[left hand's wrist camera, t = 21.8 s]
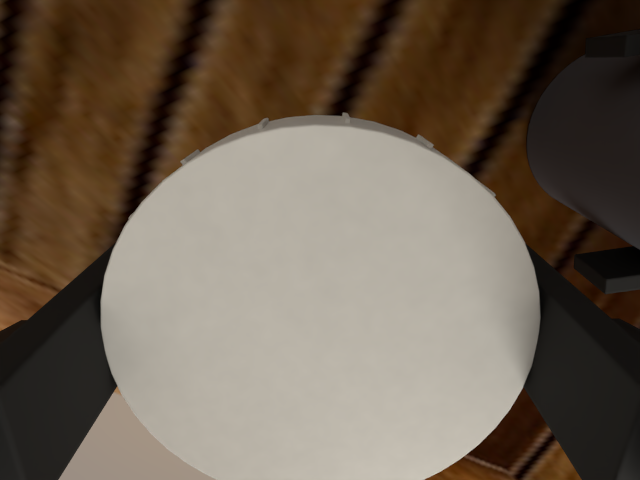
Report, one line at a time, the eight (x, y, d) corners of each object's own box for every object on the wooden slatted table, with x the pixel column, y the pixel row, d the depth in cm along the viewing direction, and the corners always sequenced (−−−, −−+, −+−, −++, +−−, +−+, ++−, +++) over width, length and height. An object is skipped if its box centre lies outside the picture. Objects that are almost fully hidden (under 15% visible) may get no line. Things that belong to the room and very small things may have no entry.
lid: (265, 12, 9) (254, 2, 8) (596, 274, 12) (638, 307, 10) (61, 343, 12) (24, 384, 11) (355, 500, 14) (359, 553, 13)
